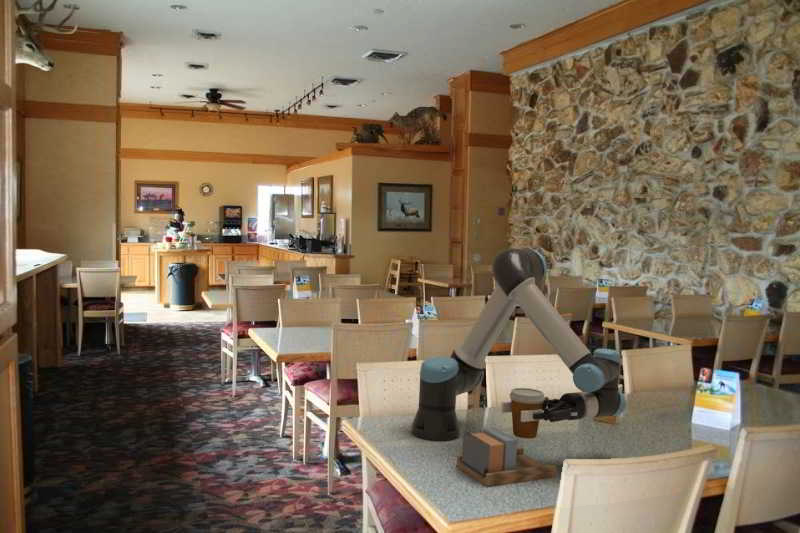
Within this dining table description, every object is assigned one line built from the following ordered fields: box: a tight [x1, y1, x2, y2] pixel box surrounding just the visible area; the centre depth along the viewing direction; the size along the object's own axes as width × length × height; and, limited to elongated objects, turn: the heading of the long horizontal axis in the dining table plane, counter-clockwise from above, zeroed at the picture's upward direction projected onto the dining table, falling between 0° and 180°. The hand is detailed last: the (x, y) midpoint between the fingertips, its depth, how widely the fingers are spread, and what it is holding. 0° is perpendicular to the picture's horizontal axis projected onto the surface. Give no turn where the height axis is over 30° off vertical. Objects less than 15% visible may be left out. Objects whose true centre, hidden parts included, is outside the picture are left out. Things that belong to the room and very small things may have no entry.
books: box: [471, 427, 518, 473], centre depth 178 cm, size 8×11×9 cm
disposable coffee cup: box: [509, 387, 546, 440], centre depth 182 cm, size 10×10×12 cm
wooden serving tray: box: [456, 447, 557, 487], centre depth 181 cm, size 22×15×3 cm
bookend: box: [460, 431, 490, 478], centre depth 176 cm, size 2×11×8 cm, turn 26°
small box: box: [592, 384, 623, 425], centre depth 236 cm, size 8×6×13 cm
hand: (511, 412), depth 180 cm, fingers closed on disposable coffee cup, 8 cm apart
